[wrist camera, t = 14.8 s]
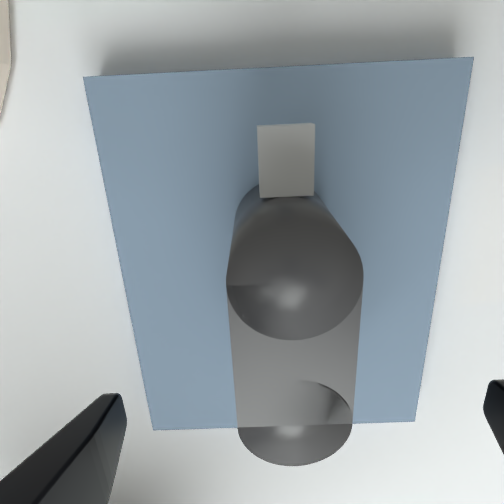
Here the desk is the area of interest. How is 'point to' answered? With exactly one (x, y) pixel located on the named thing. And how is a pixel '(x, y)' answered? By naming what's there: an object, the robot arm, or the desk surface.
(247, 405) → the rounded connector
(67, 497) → the robot arm
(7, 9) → the hand towel holder
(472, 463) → the desk surface
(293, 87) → the pad
